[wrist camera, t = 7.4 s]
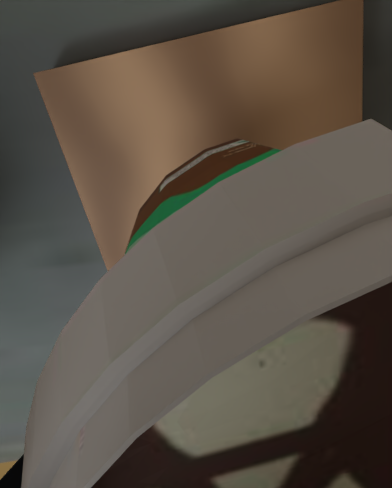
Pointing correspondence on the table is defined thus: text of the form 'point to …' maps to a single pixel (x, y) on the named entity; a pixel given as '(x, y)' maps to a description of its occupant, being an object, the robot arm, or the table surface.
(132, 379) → the food container
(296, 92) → the walnut block
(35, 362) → the table surface
